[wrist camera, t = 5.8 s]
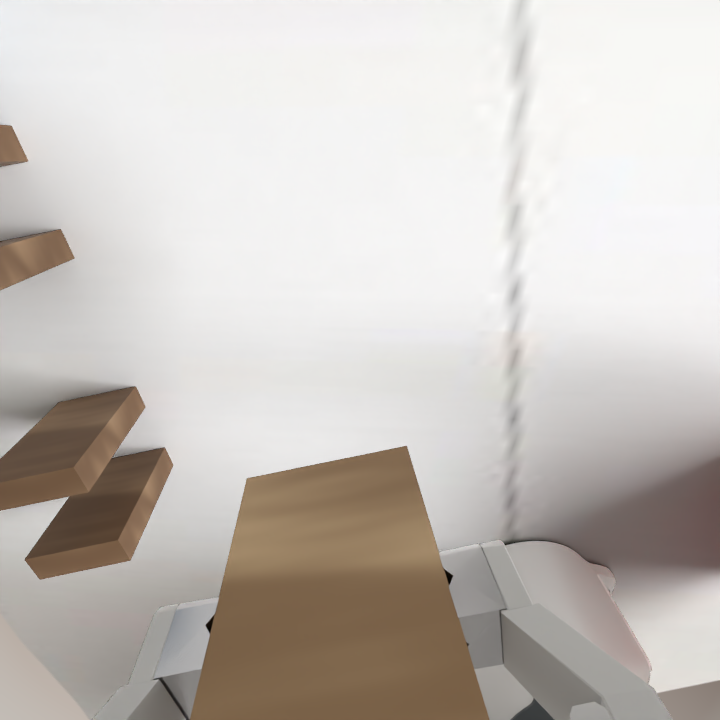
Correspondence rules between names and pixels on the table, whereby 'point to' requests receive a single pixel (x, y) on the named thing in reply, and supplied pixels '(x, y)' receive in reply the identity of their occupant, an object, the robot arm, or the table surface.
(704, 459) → the table surface
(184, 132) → the table surface
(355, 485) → the domino
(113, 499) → the domino
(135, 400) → the domino
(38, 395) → the table surface
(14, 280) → the domino
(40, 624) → the table surface
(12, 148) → the domino
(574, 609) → the robot arm
